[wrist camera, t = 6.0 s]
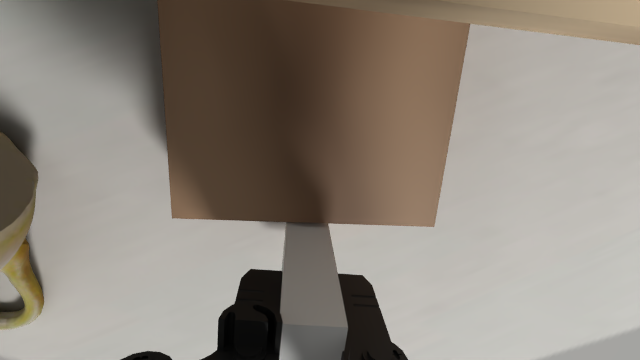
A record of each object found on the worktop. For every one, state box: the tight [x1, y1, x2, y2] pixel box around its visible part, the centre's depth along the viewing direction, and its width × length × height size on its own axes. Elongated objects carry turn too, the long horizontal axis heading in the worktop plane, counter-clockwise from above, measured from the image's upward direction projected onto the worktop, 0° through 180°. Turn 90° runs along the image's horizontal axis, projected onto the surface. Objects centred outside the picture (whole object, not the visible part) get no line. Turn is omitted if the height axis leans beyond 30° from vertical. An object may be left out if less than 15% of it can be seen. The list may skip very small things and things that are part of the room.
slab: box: [157, 0, 470, 227], centre depth 12 cm, size 9×10×4 cm
